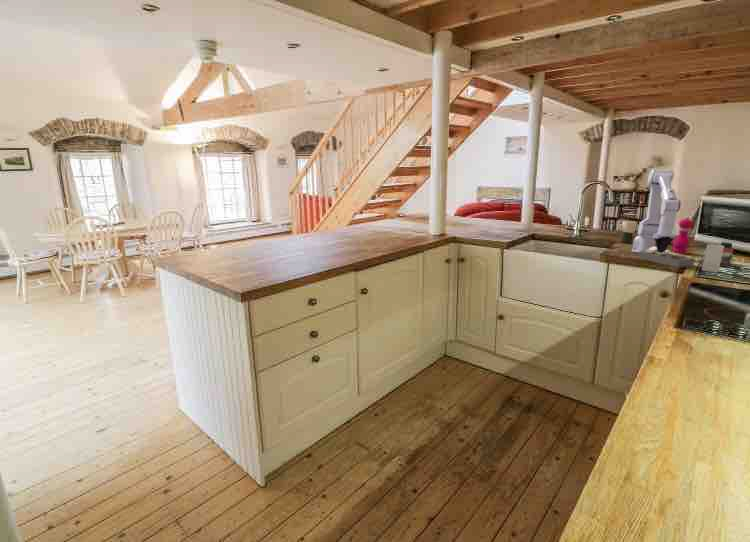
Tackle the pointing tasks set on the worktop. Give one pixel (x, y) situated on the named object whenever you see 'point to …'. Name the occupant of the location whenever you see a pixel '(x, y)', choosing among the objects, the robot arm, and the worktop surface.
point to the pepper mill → (683, 236)
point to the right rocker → (675, 254)
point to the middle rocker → (664, 252)
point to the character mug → (628, 230)
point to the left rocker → (651, 249)
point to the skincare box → (712, 258)
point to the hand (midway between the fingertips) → (660, 252)
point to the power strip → (667, 259)
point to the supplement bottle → (726, 254)
